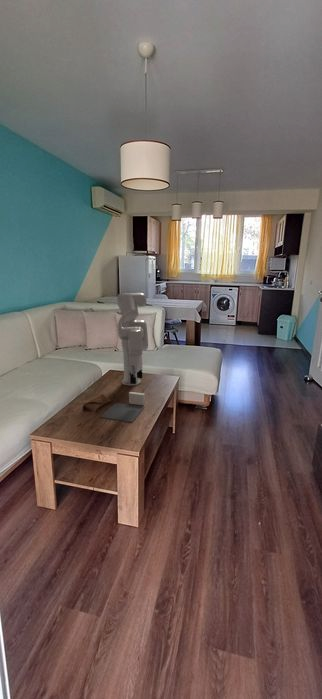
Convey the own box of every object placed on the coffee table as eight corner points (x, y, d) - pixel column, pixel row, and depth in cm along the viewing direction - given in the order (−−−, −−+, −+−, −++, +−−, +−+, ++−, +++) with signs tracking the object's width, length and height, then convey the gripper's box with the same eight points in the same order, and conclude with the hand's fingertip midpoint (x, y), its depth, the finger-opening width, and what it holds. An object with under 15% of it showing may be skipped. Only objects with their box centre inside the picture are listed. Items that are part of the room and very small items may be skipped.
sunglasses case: (94, 412, 179) (89, 402, 179) (86, 416, 182) (80, 406, 182) (113, 400, 194) (108, 390, 194) (105, 404, 198) (100, 394, 198)
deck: (130, 402, 192) (130, 391, 191) (145, 403, 190) (144, 393, 188) (129, 403, 190) (128, 393, 188) (143, 405, 188) (143, 395, 186)
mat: (115, 403, 190) (115, 402, 190) (144, 407, 184) (144, 406, 184) (100, 417, 173) (100, 416, 173) (132, 422, 168) (132, 421, 168)
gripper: (135, 347, 190) (136, 375, 195) (123, 355, 174) (124, 385, 179) (147, 348, 188) (147, 376, 192) (136, 356, 172) (137, 386, 176)
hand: (136, 380), depth 185 cm, fingers open, 9 cm apart
